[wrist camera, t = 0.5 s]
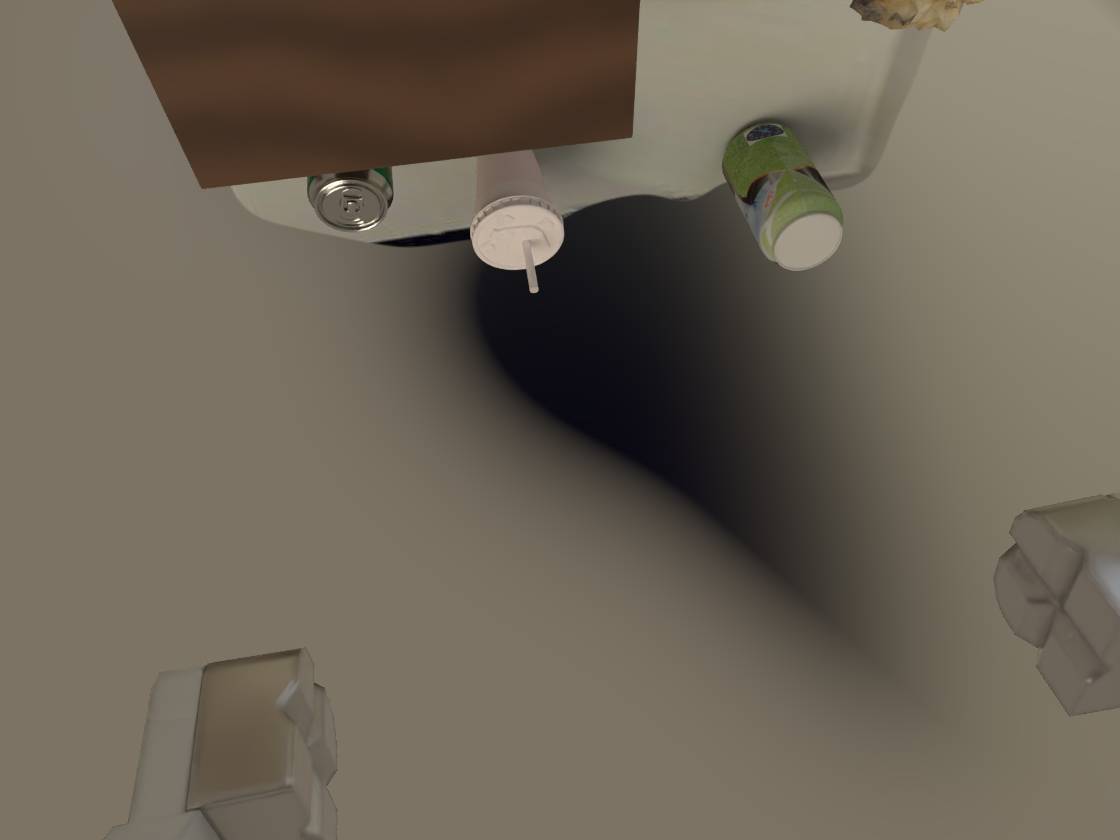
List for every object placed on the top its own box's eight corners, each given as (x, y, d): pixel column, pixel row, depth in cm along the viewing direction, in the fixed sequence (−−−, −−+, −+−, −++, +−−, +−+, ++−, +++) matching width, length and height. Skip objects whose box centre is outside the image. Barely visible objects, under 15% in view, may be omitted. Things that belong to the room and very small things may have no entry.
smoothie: (523, 183, 72) (548, 326, 65) (445, 162, 69) (462, 309, 62) (560, 120, 67) (592, 266, 60) (479, 95, 65) (501, 245, 57)
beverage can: (711, 178, 75) (749, 294, 68) (730, 103, 68) (773, 222, 62) (787, 173, 75) (831, 287, 69) (812, 98, 69) (863, 215, 63)
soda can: (306, 104, 63) (306, 234, 57) (307, 38, 59) (307, 171, 53) (382, 110, 64) (390, 239, 58) (387, 47, 60) (397, 178, 54)
